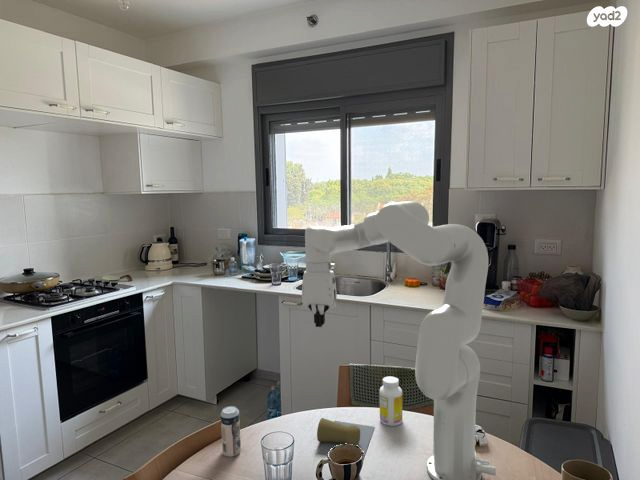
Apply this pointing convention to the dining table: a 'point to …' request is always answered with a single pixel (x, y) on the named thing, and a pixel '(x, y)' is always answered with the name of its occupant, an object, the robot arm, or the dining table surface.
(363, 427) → the mat
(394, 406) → the supplement bottle
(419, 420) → the dining table surface
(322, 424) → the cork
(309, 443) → the dining table surface
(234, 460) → the dining table surface
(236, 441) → the beer can
